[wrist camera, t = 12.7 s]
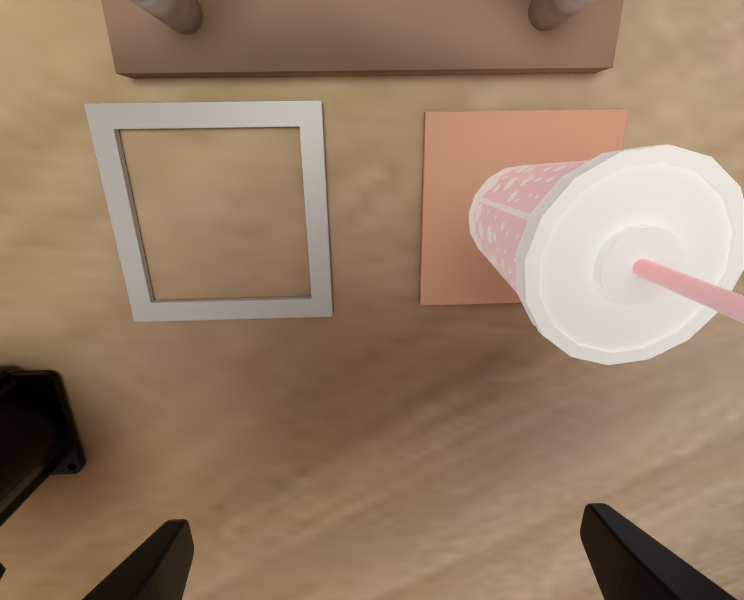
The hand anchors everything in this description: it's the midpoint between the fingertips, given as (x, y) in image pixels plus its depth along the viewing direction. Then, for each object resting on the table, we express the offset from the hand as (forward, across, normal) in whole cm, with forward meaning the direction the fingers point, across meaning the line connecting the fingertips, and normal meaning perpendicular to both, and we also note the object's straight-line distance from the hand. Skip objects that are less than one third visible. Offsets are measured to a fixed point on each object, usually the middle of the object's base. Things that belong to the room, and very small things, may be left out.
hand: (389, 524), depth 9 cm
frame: (+13, +7, -5) cm, 16 cm away
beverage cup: (+13, -7, -5) cm, 15 cm away
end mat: (+13, -7, -5) cm, 16 cm away
